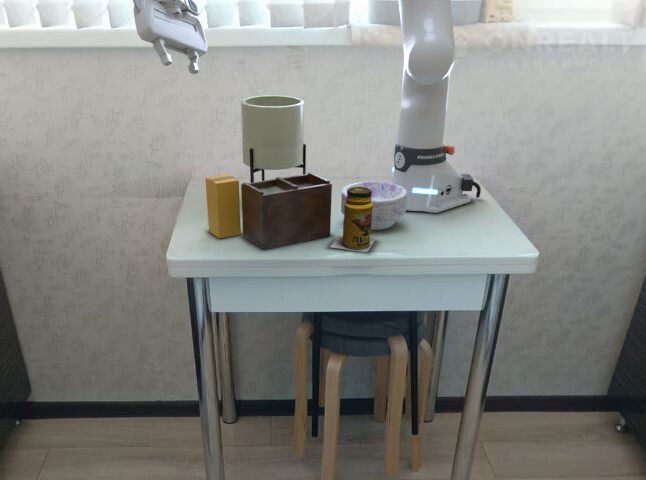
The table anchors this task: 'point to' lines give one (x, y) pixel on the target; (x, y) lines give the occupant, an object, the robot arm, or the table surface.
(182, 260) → the table surface
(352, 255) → the table surface
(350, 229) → the condiment
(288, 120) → the planter
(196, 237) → the table surface
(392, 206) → the paper bowls
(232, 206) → the package
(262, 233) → the rack
